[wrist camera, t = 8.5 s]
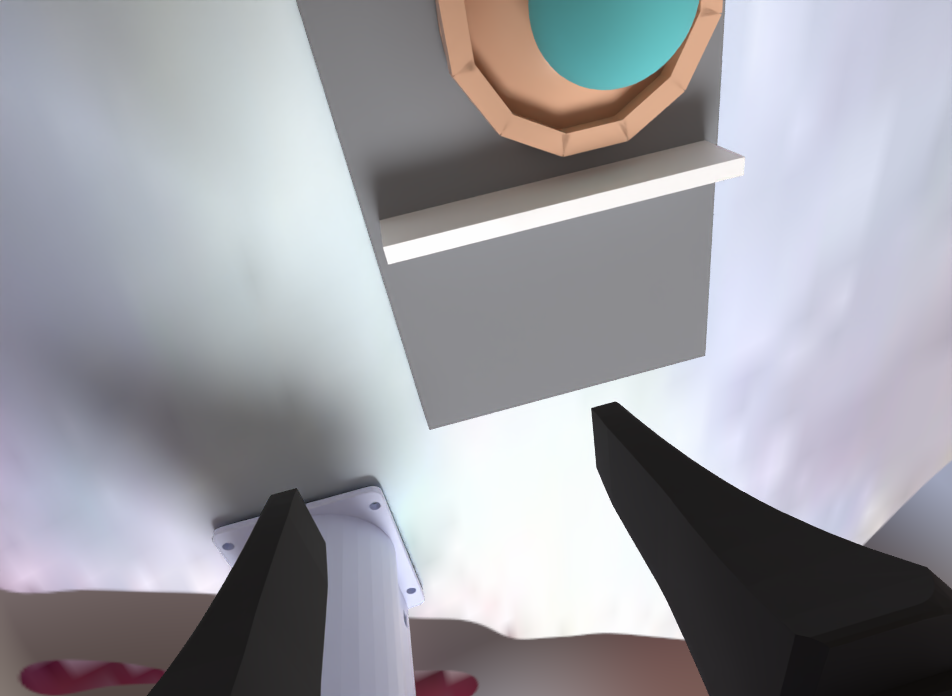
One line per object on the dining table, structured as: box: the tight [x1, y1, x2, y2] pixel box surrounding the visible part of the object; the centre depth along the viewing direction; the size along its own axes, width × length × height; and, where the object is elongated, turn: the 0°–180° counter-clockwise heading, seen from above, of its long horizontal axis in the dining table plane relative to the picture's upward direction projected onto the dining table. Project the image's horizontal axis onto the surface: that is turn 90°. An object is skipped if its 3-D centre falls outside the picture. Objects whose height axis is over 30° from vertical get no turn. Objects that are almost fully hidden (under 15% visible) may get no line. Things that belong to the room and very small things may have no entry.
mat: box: [296, 0, 725, 430], centre depth 20 cm, size 19×13×1 cm
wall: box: [380, 140, 745, 264], centre depth 19 cm, size 1×12×2 cm, turn 100°
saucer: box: [435, 0, 723, 157], centre depth 17 cm, size 8×8×1 cm
